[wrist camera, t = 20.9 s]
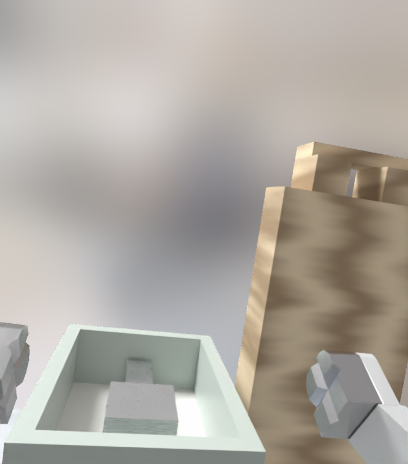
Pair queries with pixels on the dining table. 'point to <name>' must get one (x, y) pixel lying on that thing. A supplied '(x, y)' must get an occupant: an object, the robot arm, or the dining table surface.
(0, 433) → the dining table surface
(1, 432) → the dining table surface
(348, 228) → the tan wooden tall block
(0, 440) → the dining table surface
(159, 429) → the bar
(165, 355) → the raised tray
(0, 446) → the dining table surface
